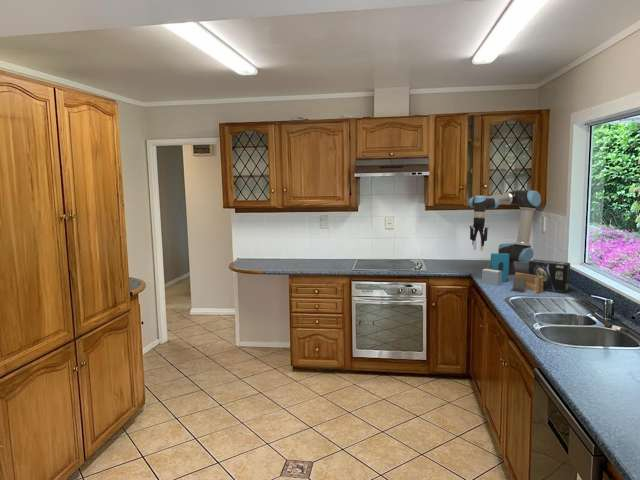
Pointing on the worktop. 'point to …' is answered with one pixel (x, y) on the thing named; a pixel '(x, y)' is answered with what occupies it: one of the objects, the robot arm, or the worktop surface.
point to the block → (504, 260)
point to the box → (552, 274)
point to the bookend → (519, 285)
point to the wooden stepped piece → (532, 282)
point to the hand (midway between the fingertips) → (477, 250)
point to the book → (491, 277)
